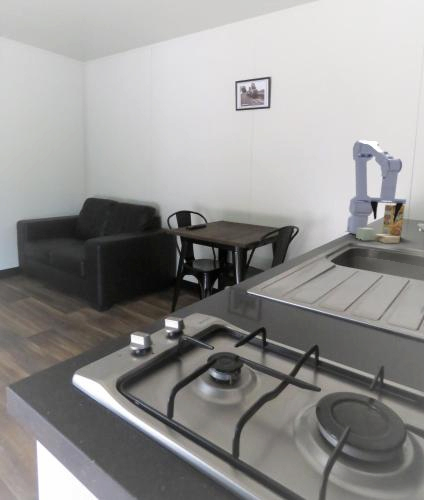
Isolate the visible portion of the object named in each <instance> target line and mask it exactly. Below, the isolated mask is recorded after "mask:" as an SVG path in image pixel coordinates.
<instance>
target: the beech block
mask: <svg viewBox="0 0 424 500" xmlns="http://www.w3.org/2000/svg"><path fill="white" fill-rule="evenodd" d="M400 238H401V237H399V236H394V235H390V234H382V233H380V234H379V233H376V234H374V241H375V240H376V242H380V243H382V242H383V243H382V244H399V243H400Z"/></svg>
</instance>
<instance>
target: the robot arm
mask: <svg viewBox="0 0 424 500" xmlns="http://www.w3.org/2000/svg"><path fill="white" fill-rule="evenodd" d="M373 158H374V159H375V160H374V161H375V162H376V163H377V164H378V165H379V166H380V170H381V171H380V172H381V175H380V176H381V177H382V178H381V179H382V180H381V186H380V187H381V188H380V195H379V197H371V196H370V195H368V175H367V172H368V170H367V169H368V168H367V167H368V166H367V164H368V162H369V161H371V160H372V159H373ZM352 159H353V160H354V162H355V163H354V164H355V166H354V167H355V168H354V169H355V196H353V197H351V199H350V201H349V202H350V203H349V208H348V210H349V214H350V216H349V217H348V219H347V226H346V230H345V231H344V232H346V233H349V234H354V235H356V234H357V228H368V223H369V217H370V215H372V213H373V220H376V219H377V213H378V212H377V211H378V204H379V203H382V204H396V206H395V214H394V219H393V221H396V217H397V214H398V212H399V210H400V209H401V207H402V206H403V205H407V199H405V198H404V199H402V198H396V190H397V184H398V176H399V173H400V172H401V171H402V170H403V169H402V168H403V162H402V160H401V159H400V158H395V157H394V156H393V155H391V154H390V153H389V151H388V150H382V149H381V148H380V147H379V142H378V141H377V140H373V141H369V140H368V141H367V140H356V141H355V142H354V143H353V147H352Z"/></svg>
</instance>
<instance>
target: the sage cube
mask: <svg viewBox="0 0 424 500" xmlns="http://www.w3.org/2000/svg"><path fill="white" fill-rule="evenodd" d="M374 232H375V229H374V228H371V227H367V228H357V234H355V235H356V237H355V238H358V239H357V240H360V239H361V240H360V241H373V240H374Z"/></svg>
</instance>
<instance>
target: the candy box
mask: <svg viewBox="0 0 424 500" xmlns="http://www.w3.org/2000/svg"><path fill="white" fill-rule="evenodd" d="M405 205H406V204H403V206H402V207H401V209H400V210H399V212H398V214H397V217H396V221H393V219H394V214H395V206H396V204H395V203H389V204H385V205H384V215H383V224H382V232H381V234H390V235H394V236H399V237H400V238H402V232H403V223H404V217H405V216H404V215H405V207H406V206H405Z"/></svg>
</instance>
